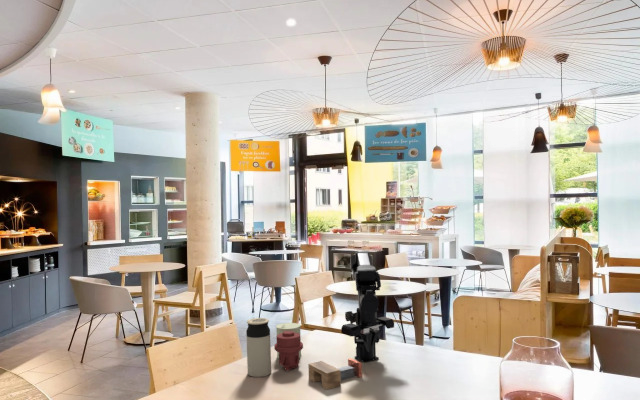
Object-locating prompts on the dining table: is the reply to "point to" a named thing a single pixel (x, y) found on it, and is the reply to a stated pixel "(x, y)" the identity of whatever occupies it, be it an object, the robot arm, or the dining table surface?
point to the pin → (351, 369)
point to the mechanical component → (288, 349)
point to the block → (324, 374)
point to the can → (288, 327)
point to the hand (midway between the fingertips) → (369, 351)
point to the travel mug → (258, 347)
